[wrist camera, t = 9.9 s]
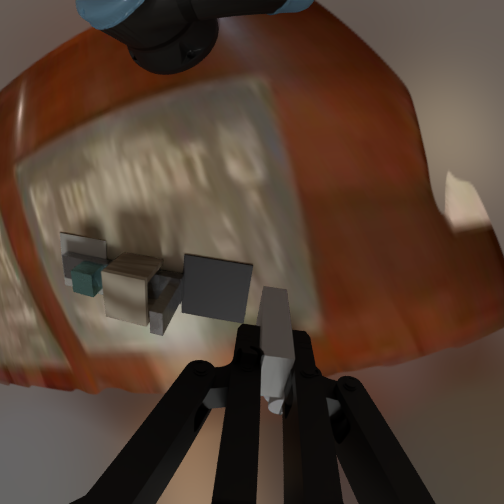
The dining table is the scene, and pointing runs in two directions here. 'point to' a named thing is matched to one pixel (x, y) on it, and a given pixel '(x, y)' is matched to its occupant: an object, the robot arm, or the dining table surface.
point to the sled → (159, 287)
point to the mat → (82, 249)
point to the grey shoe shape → (215, 288)
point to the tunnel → (129, 287)
